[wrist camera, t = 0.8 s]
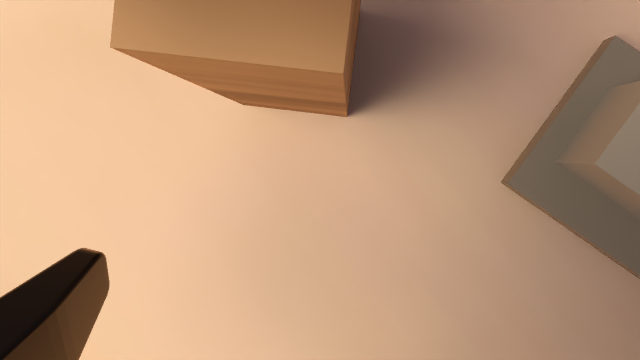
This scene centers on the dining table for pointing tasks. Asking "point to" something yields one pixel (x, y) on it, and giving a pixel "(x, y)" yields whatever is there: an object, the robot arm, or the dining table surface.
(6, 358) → the robot arm
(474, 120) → the dining table surface
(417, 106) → the dining table surface
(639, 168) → the grey box
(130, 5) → the walnut post
